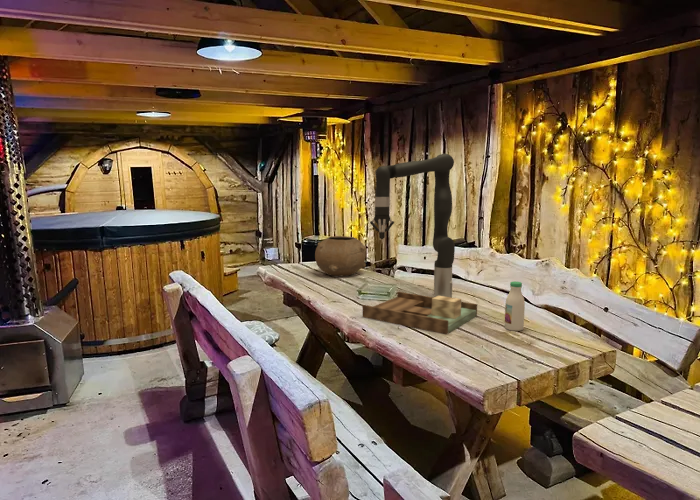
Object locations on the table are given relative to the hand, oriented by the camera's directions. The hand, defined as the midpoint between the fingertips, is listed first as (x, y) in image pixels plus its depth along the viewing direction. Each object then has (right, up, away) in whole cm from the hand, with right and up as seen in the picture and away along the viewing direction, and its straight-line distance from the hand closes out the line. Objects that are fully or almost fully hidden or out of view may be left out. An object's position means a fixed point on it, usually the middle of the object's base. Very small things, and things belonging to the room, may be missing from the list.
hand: (382, 239), depth 245 cm
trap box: (+16, -36, -27) cm, 48 cm away
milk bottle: (+53, -39, -45) cm, 80 cm away
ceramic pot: (-23, -22, +69) cm, 76 cm away
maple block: (+26, -35, -36) cm, 56 cm away
